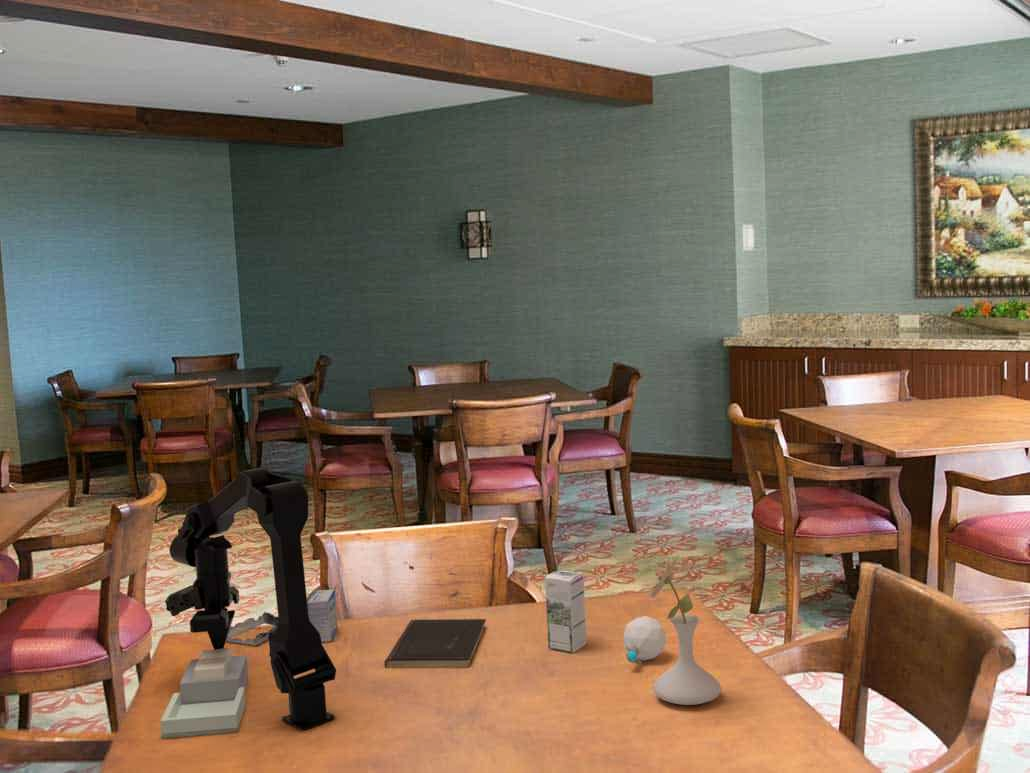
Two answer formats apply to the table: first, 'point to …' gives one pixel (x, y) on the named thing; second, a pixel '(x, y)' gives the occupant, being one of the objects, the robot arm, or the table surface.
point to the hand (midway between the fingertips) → (219, 654)
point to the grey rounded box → (214, 683)
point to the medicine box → (323, 613)
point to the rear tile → (217, 654)
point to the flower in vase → (683, 656)
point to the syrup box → (565, 611)
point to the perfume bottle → (644, 639)
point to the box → (202, 717)
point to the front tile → (211, 669)
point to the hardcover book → (436, 643)
